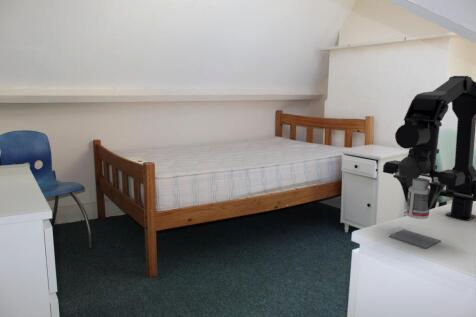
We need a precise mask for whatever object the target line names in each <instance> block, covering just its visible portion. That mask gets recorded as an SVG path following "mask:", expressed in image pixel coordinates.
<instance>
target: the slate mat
mask: <svg viewBox="0 0 476 317" xmlns="http://www.w3.org/2000/svg"><path fill="white" fill-rule="evenodd" d="M388 238H391V239H393V240H397V241H399V242H403V243H407V244H410V245H412V246H416V247H419V248H421V249H425V250H427V249H429V248H431V247H433V246H435V245H438V244H439V243H441V241H442V240H441V239H438V238H434V237H432V236H428V235H424V234H421V233H418V232H415V231H411V230H407V229H406V228H405V229H402V230H401V229H400V230H399V231H397V232H394V233H392V234H389V235H388Z"/></svg>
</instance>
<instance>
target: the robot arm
mask: <svg viewBox="0 0 476 317" xmlns="http://www.w3.org/2000/svg"><path fill="white" fill-rule="evenodd" d="M449 104H451V110H452V112H453V113H454V115H455V116H456V118H457V123H456V126H457V128H456V138H455V140H456V141H455V153H454V155H455V158H454V166H453V167H452V169H444V170H440V171H438V165H437V164H436V162H437V155H438V154H440V149H439V148H438V144H439V136H440V135H439V134H440V127H442V126H443V124H442V121H443V119H444V117H445V115H446V113H447V112H448V111H449V110H448V109H449ZM403 122H404V124H402V125H400V126H399V127H398V128H397V130H396V132H395V134H394V136H395V137H394V138H395V141H396V143H397V145H398V146H399V147H400V148H403V149H406V150H407V149H408V155H407V156H404V158H402V159H401V160H395V159H394V160H389V161H386V162H384V164H383V165H382V166H383V167H382V173H385V174H389V175H393V178H395V179H396V180H397V181H399V184H400V186H401V188H402V192H403V195H404V196H403V197H404V200H405V202H406V203H407V200H408V190H409V188H410V187H411V186H413V184H412V181H413V179H416V178H420V177H424V178H425V177H427V178H431V179H433V181H431V182H430V183H429V189H430V193H429V199H428V208H430V209H431V208H432V207H433V205H434V203H435V202H436V200H437V199H438V198H439V195H440V193H441V192H443V189H445V195H446V196H450V197H451V205H450V206H451V207H450V211H449V212H447V213H445V216H447V217H451V218H455V219H459V220H464V221H470V220H472V219H474V218H476V214H472V213H473V208H474V207H473V206H474V202H476V168H475V166H473V164H474V152H475V140H476V139H475V138H476V81H474V80H473V78H472V77H471V76H468V75H452V76H449V78H448V80H447V81H446V82H443V83H442V84H441V85H439V86H438V87H437V88H435V89H434V90H432V91H423V92H421V93H417V94H416V95H415V96H414V98H412V100H411V102H410V104H409V107H408V109H407V111H406V113H405V116H404V118H403Z"/></svg>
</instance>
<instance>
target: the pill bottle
mask: <svg viewBox="0 0 476 317" xmlns="http://www.w3.org/2000/svg"><path fill="white" fill-rule="evenodd" d="M430 181H431V180H430V179H429V178H428V179H427V178H425V177H418V178H416V179H413V181H412V184H413V186H411V187H410V188H409V190H408V200H407V202H406V212H405V213H406V216H407V217H409V218H413V219H418V220H426V219H428V218H429V216H430V209H431V208H428V199H429V193H430V185H429V183H431V182H430Z"/></svg>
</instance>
